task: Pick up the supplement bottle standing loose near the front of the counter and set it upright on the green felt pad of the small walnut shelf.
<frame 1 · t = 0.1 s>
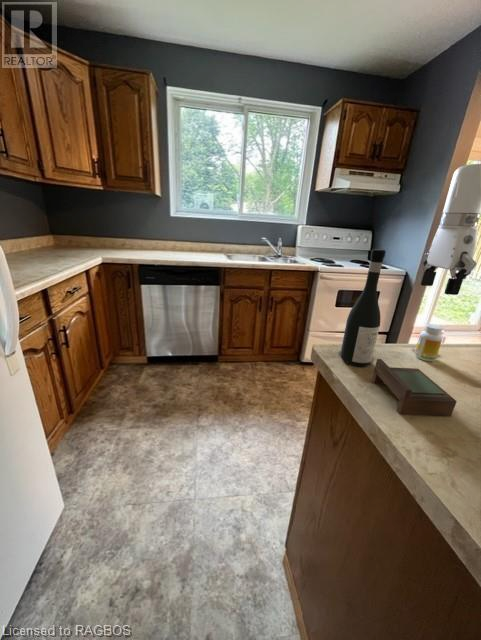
hand: (437, 289, 73), 20 cm above the countertop, tool pointing down, fingers open, 9 cm apart
supplement bottle: (424, 357, 79), on the countertop
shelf: (405, 402, 58), on the countertop
wine bottle: (354, 361, 75), on the countertop
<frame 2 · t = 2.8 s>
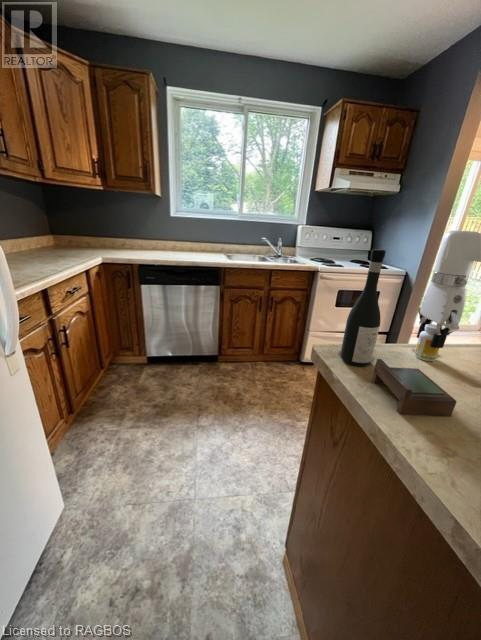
hand: (429, 342, 77), 5 cm above the countertop, tool pointing down, fingers closed on supplement bottle, 5 cm apart
supplement bottle: (424, 357, 79), on the countertop, touching gripper
everything else where it was.
when the fingers open (10 cm above the countertop, at t = 9.2 s): supplement bottle stays where it is, resting on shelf.
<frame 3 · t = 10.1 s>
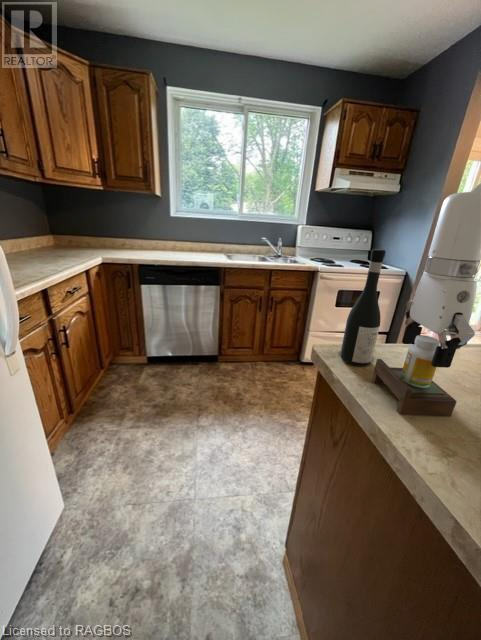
hand: (423, 354, 54), 12 cm above the countertop, tool pointing down, fingers open, 9 cm apart
supplement bottle: (414, 382, 57), point 5 cm above the countertop, touching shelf
everything else where it was.
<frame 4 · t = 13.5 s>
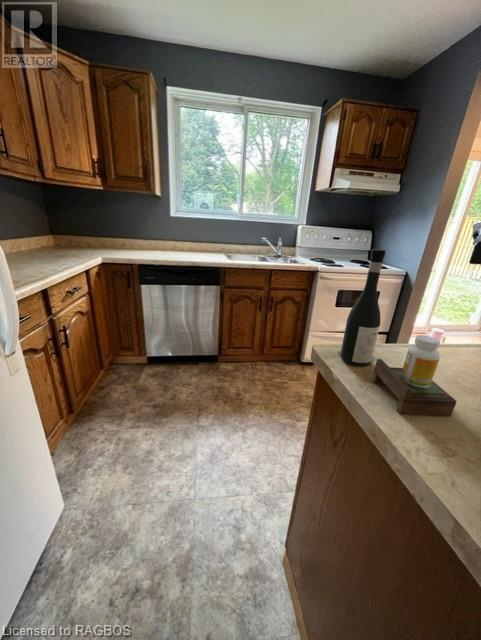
nothing on the countertop moved.
at the end: supplement bottle inside the target area on the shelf (0.2 cm from its centre), point 5.0 cm above the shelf's base; supplement bottle tilted 0°; the gripper is holding nothing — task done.
